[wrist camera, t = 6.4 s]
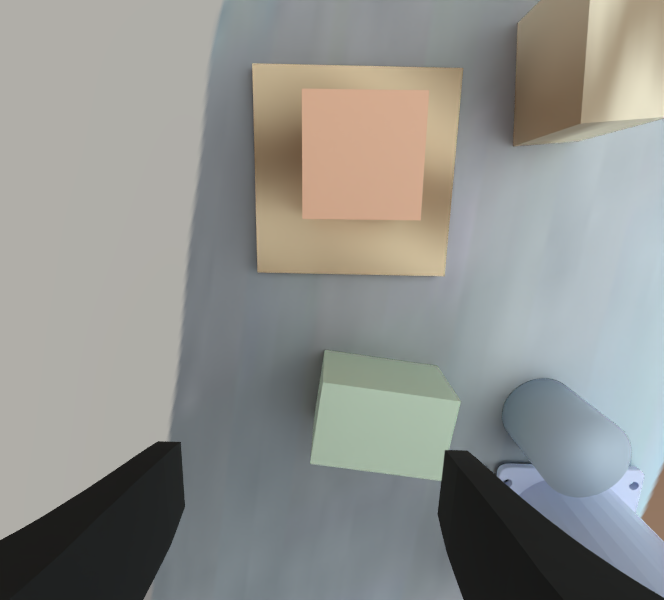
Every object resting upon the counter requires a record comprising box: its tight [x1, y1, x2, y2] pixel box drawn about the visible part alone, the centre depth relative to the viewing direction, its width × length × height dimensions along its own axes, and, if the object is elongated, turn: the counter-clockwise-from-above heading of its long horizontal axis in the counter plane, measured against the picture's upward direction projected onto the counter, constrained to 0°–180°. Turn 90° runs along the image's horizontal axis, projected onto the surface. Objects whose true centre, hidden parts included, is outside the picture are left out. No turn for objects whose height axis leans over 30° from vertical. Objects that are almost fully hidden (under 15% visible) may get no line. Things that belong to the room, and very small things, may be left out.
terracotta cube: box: [302, 89, 429, 220], centre depth 15 cm, size 4×4×5 cm
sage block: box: [310, 350, 461, 481], centre depth 19 cm, size 4×6×4 cm, turn 81°
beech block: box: [513, 0, 664, 146], centre depth 15 cm, size 5×5×3 cm
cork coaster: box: [252, 64, 463, 276], centre depth 18 cm, size 9×9×1 cm
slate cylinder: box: [502, 378, 632, 497], centre depth 19 cm, size 4×4×4 cm
